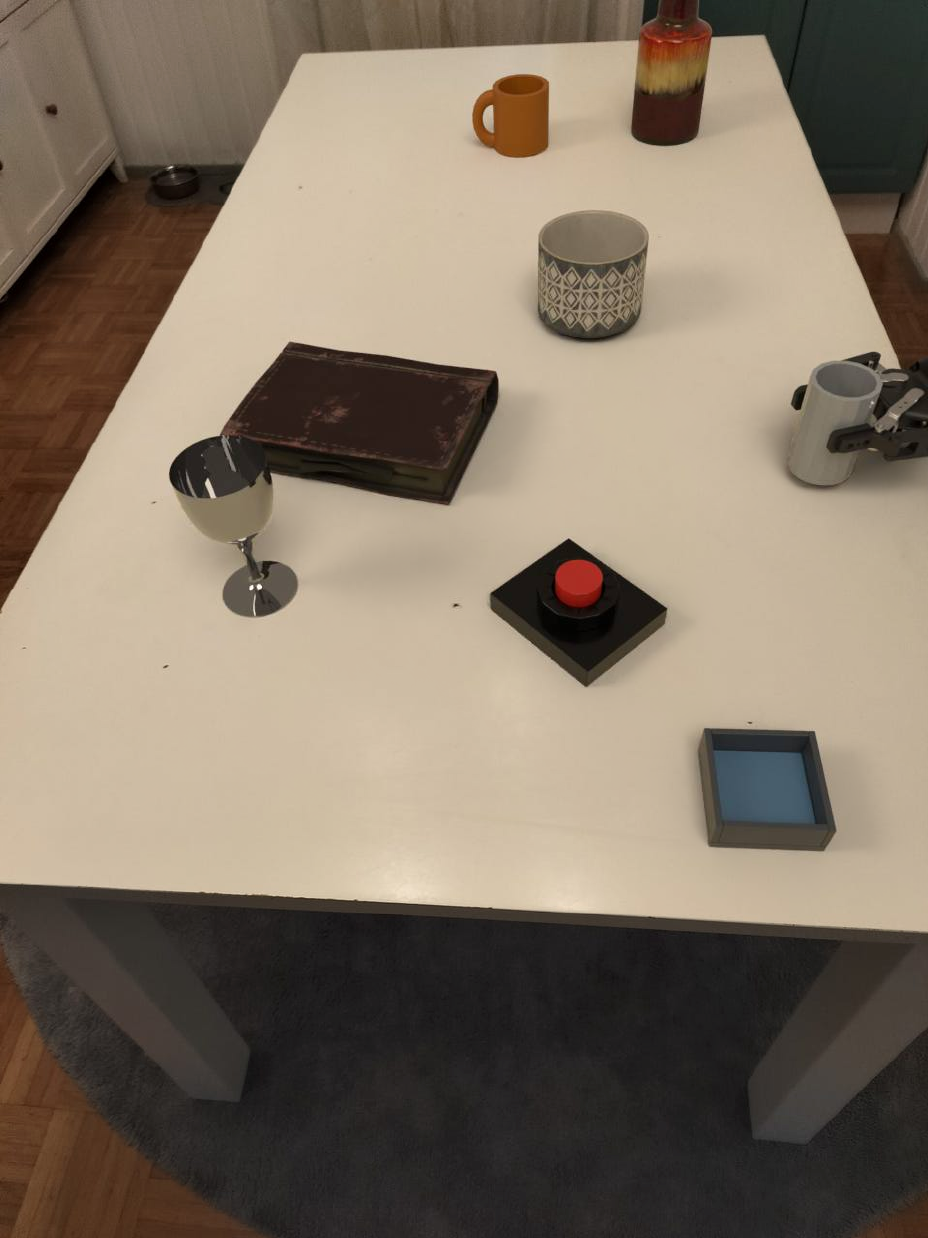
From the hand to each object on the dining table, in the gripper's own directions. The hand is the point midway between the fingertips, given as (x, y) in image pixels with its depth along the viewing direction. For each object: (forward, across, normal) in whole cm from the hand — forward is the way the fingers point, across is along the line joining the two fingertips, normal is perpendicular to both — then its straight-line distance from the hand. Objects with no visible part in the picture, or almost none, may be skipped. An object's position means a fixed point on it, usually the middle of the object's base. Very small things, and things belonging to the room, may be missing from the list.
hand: (812, 420), depth 83 cm
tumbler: (-2, 0, +6) cm, 6 cm away
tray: (+19, +32, +8) cm, 38 cm away
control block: (+27, +11, +7) cm, 30 cm away
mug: (+5, -87, +7) cm, 87 cm away
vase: (-20, -83, +7) cm, 85 cm away
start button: (+27, +11, +4) cm, 29 cm away
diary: (+40, -20, +7) cm, 46 cm away
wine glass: (+54, -1, +8) cm, 55 cm away
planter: (+10, -35, +7) cm, 37 cm away
